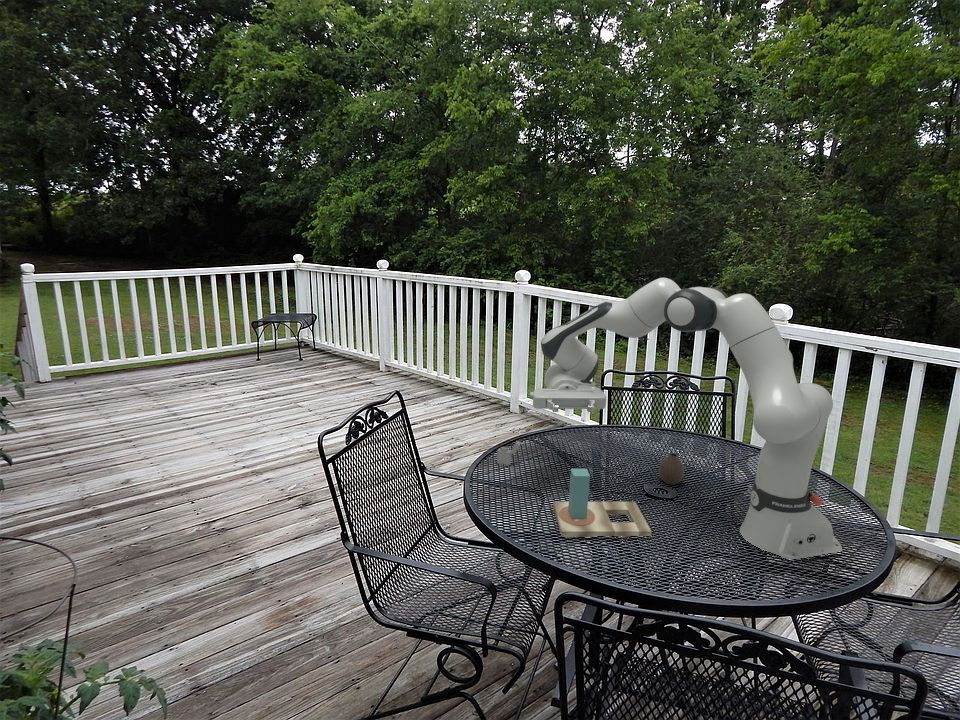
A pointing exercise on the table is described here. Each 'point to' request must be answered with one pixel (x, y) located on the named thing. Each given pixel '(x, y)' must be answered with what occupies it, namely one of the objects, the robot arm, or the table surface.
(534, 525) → the table surface
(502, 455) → the lighter
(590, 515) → the tan flat disc
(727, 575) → the table surface
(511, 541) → the table surface
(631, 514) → the pocket board
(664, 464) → the vase
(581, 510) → the peg
